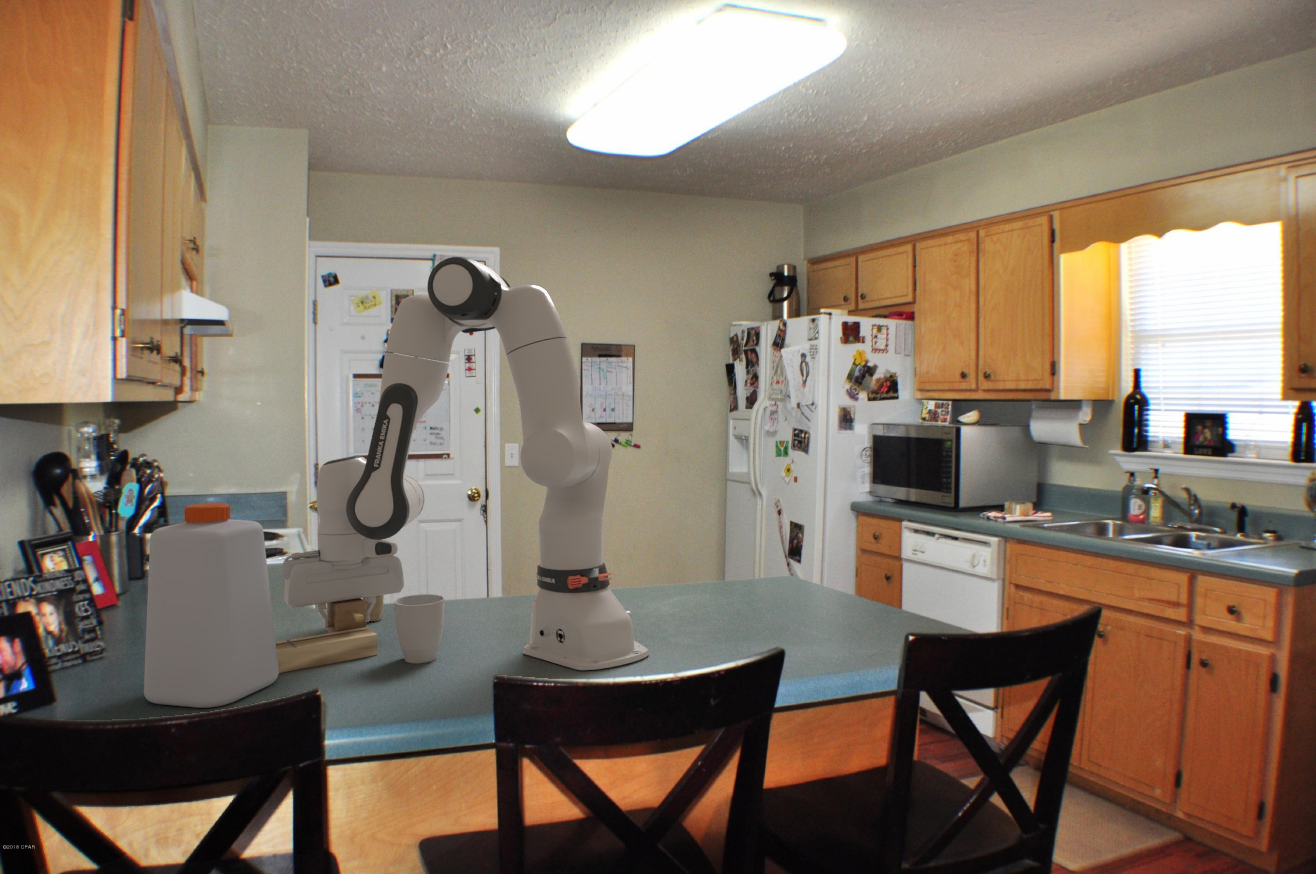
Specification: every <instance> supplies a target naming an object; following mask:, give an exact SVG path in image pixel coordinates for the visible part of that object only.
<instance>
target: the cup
mask: <svg viewBox="0 0 1316 874" xmlns="http://www.w3.org/2000/svg"><path fill="white" fill-rule="evenodd" d="M393 603H394V613H395V614H394V616H395V627H396V633H397V637H398V642H399V646H400V649H401V652H402V655H403V658H404V661H405V662H406V663H410V664H425V663H426V664H427V663H429V662H433V661H435V660H437V657H438V653H439V650H440V647H441V644H442V639H443V638H442V637H443V630H444V624H445V623H444V622H445V605H446V604H445V603H446V601H445V596H443V595H442V594H441V595H439V594H434V593H428V594H427V593H421V594H410V595H406V596H405V595H404V596H401V597H398V598H396V599H395V600H394V602H393Z"/></svg>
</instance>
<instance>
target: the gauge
mask: <svg viewBox="0 0 1316 874" xmlns="http://www.w3.org/2000/svg"><path fill="white" fill-rule="evenodd" d="M326 610H327V612H326V615H327V616H332V617H333V624H334V626H333V627H331V628H327V634H328V633H334V632H340V631H346V630H352V629H358V628H364V627H367V622H366V606H365V601H364V600H363V598H358V599H351V600H344V601H337V602H330V603H326Z"/></svg>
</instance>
